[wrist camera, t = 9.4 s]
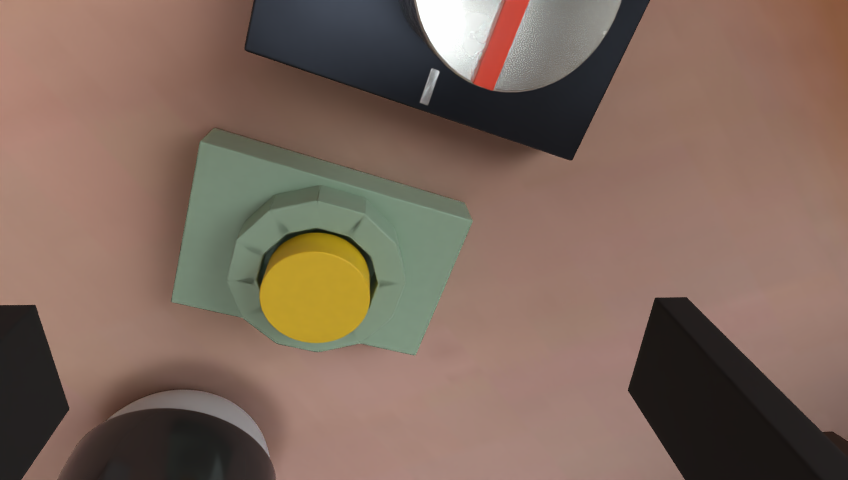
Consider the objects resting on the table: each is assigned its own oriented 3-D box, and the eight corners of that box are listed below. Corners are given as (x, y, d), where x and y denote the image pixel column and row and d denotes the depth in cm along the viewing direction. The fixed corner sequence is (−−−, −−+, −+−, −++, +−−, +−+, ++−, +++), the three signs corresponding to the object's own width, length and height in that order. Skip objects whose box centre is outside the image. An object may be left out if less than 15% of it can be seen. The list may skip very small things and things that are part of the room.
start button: (382, 247, 22) (383, 267, 21) (353, 328, 24) (352, 352, 23) (279, 219, 21) (272, 238, 20) (256, 307, 23) (248, 330, 22)
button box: (465, 202, 26) (481, 238, 22) (412, 330, 29) (418, 380, 25) (213, 126, 23) (185, 154, 19) (185, 278, 26) (156, 325, 23)
